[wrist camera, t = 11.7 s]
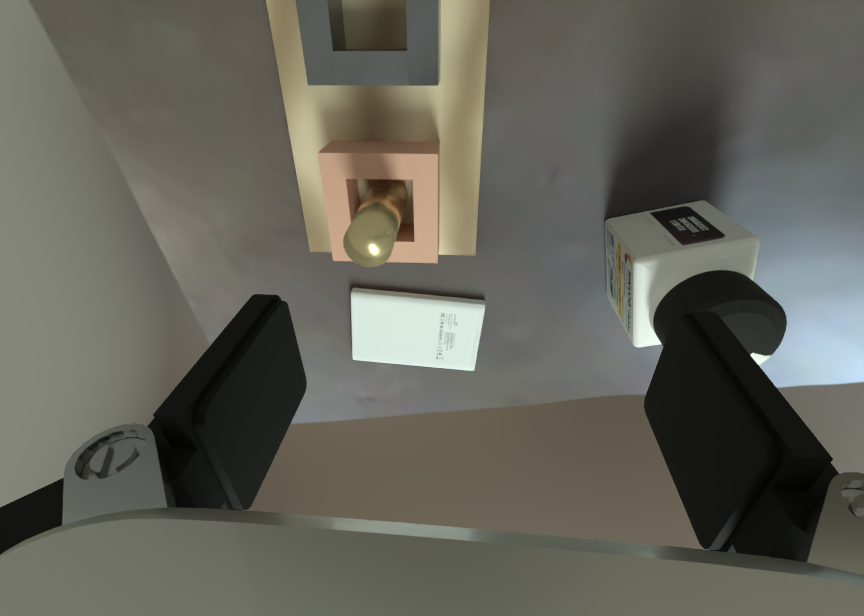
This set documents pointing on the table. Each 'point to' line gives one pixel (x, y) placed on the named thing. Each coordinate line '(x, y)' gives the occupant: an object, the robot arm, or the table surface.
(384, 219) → the brass pin
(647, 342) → the container
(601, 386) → the table surface
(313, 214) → the oak board
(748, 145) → the table surface
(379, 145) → the socket collar
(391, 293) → the external hard drive
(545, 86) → the table surface
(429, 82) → the mount collar
